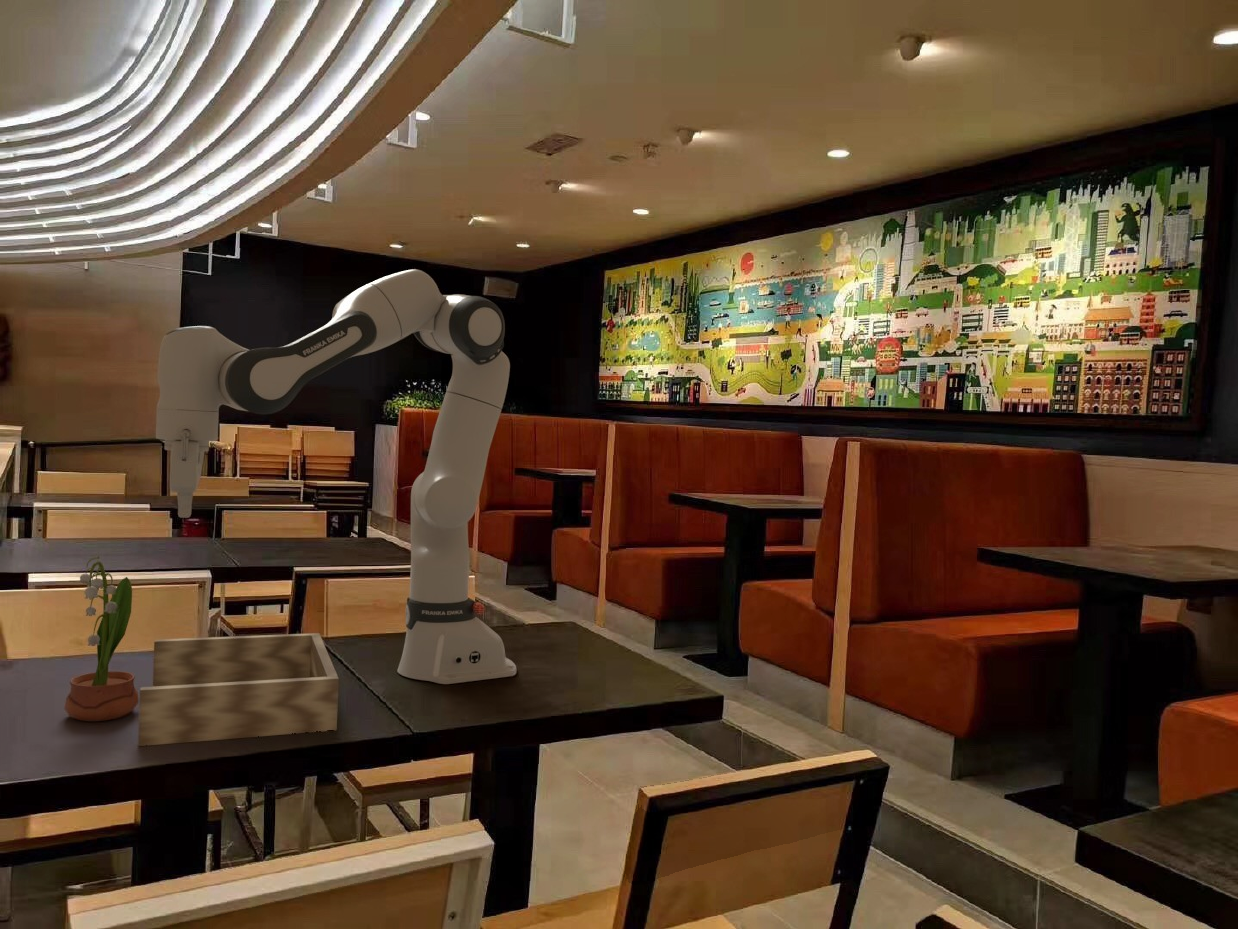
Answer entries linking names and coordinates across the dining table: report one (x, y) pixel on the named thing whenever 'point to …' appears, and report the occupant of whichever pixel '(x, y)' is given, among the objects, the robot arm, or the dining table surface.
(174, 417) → the robot arm
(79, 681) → the potted flower
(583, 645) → the dining table surface
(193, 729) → the open wooden planter box
